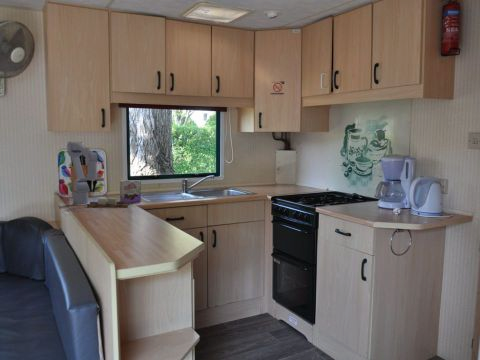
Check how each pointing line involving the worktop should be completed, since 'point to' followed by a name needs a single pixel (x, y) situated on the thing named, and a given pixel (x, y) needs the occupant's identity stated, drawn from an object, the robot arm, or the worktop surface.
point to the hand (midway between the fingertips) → (92, 192)
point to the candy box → (130, 191)
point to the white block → (102, 200)
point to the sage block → (111, 200)
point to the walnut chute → (118, 204)
